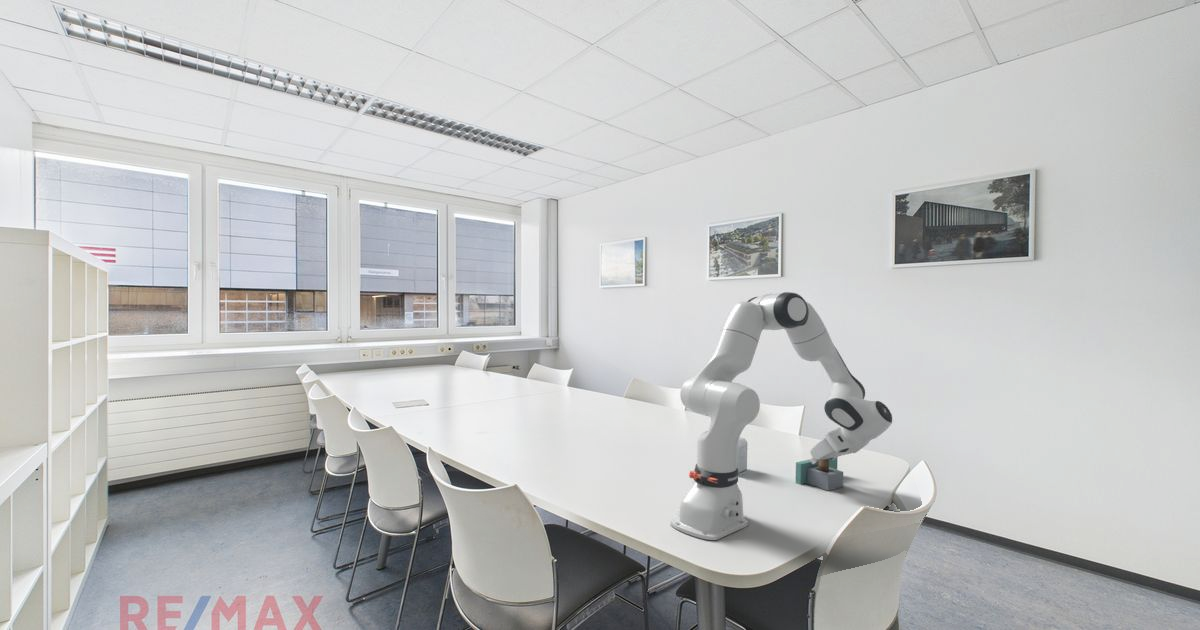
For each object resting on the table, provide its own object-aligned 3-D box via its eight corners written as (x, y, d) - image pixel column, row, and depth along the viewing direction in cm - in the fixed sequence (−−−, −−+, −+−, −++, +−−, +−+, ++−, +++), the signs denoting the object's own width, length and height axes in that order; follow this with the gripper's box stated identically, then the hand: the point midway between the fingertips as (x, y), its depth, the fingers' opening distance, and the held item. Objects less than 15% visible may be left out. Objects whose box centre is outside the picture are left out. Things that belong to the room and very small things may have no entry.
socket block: (843, 486, 159) (843, 471, 159) (827, 490, 155) (828, 475, 155) (821, 478, 166) (821, 464, 165) (806, 482, 162) (807, 468, 162)
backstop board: (837, 475, 170) (837, 456, 170) (800, 484, 160) (800, 464, 160) (832, 473, 172) (832, 454, 172) (795, 482, 162) (795, 462, 162)
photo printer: (738, 466, 178) (738, 434, 178) (748, 469, 175) (749, 436, 175) (723, 473, 171) (724, 439, 171) (734, 476, 168) (734, 441, 167)
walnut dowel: (827, 482, 158) (827, 452, 158) (817, 479, 160) (817, 450, 160) (829, 479, 161) (830, 450, 161) (819, 477, 163) (820, 448, 163)
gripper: (861, 426, 160) (834, 447, 168) (823, 433, 150) (796, 455, 158) (874, 443, 156) (846, 463, 164) (836, 451, 146) (807, 473, 154)
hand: (821, 459), depth 161 cm, fingers open, 8 cm apart
